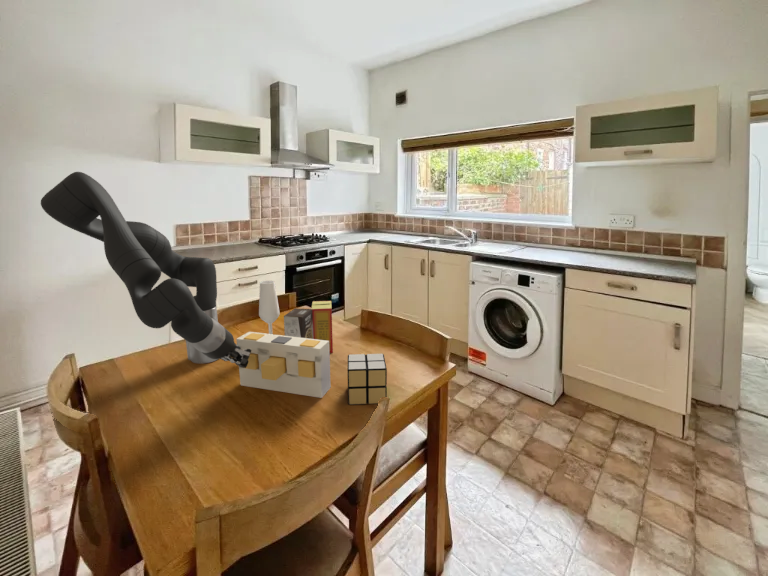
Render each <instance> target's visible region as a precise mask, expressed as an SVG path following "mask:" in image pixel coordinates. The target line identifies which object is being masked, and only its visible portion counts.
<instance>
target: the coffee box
mask: <svg viewBox="0 0 768 576" xmlns="http://www.w3.org/2000/svg"><path fill="white" fill-rule="evenodd" d="M283 327H284V329H283V330H284V336H292V337H300V338H309V339H314V338H313V313H312V308H297V307H294V308H293V309H292V310H291V311H289V312H287V313H286V314H284V315H283Z"/></svg>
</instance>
